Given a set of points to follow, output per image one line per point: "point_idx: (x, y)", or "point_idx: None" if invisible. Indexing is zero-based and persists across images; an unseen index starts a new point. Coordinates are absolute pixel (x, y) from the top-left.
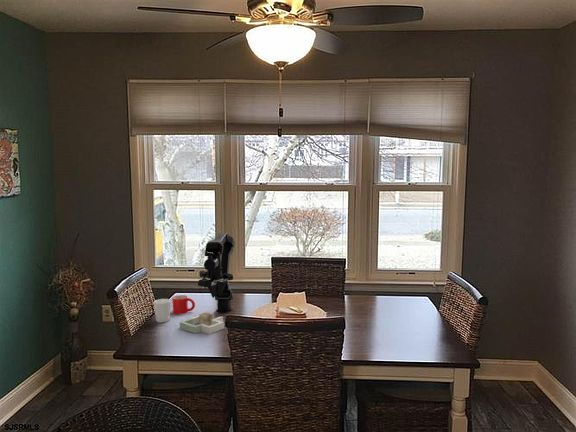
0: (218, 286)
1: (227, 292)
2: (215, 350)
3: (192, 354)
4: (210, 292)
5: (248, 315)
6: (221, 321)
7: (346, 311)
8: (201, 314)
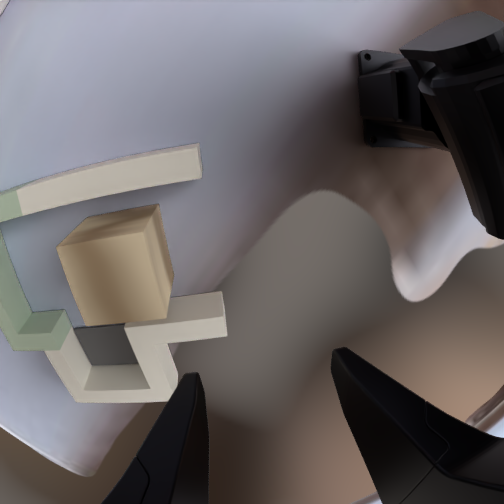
0: (412, 455)
1: (502, 238)
2: (71, 456)
3: (11, 431)
4: (147, 444)
5: (408, 297)
6: (169, 386)
7: (497, 407)
8: (69, 263)
